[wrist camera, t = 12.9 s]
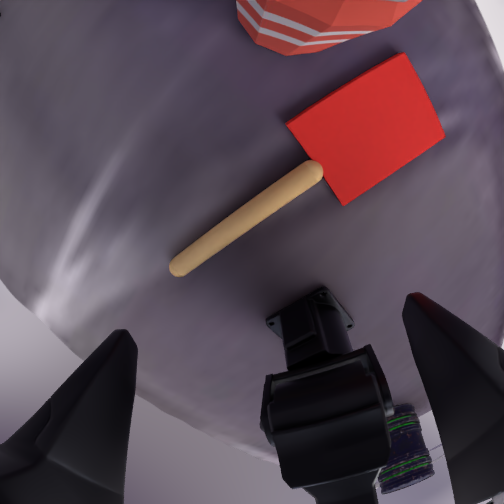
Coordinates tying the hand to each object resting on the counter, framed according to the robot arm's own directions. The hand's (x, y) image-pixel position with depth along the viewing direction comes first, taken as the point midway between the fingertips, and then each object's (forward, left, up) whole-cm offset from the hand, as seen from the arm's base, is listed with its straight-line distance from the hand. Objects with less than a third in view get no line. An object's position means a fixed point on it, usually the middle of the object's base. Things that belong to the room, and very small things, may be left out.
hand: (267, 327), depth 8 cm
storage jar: (-49, +6, -13) cm, 51 cm away
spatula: (-2, -3, -13) cm, 13 cm away
